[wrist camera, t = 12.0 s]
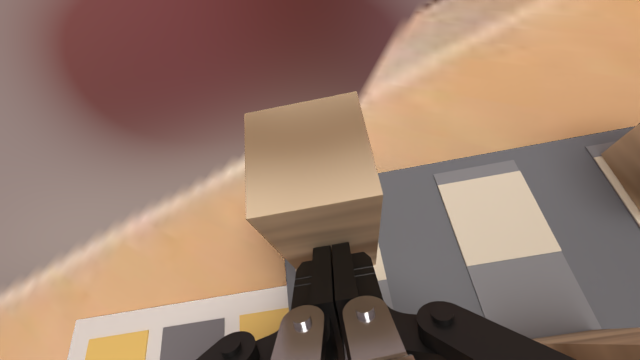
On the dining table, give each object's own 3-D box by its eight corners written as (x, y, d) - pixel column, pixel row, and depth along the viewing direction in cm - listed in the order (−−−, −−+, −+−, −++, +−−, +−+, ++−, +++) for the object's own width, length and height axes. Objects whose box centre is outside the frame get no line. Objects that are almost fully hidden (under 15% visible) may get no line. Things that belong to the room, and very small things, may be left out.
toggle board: (930, 465, 12) (995, 479, 10) (312, 535, 13) (306, 555, 12) (654, 131, 19) (672, 118, 18) (284, 199, 21) (279, 190, 19)
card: (338, 406, 15) (337, 408, 14) (53, 446, 16) (44, 449, 15) (321, 281, 18) (320, 279, 17) (81, 320, 19) (74, 319, 18)
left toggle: (375, 264, 16) (383, 194, 9) (303, 276, 17) (245, 219, 9) (361, 198, 18) (356, 91, 10) (296, 209, 19) (244, 113, 11)
